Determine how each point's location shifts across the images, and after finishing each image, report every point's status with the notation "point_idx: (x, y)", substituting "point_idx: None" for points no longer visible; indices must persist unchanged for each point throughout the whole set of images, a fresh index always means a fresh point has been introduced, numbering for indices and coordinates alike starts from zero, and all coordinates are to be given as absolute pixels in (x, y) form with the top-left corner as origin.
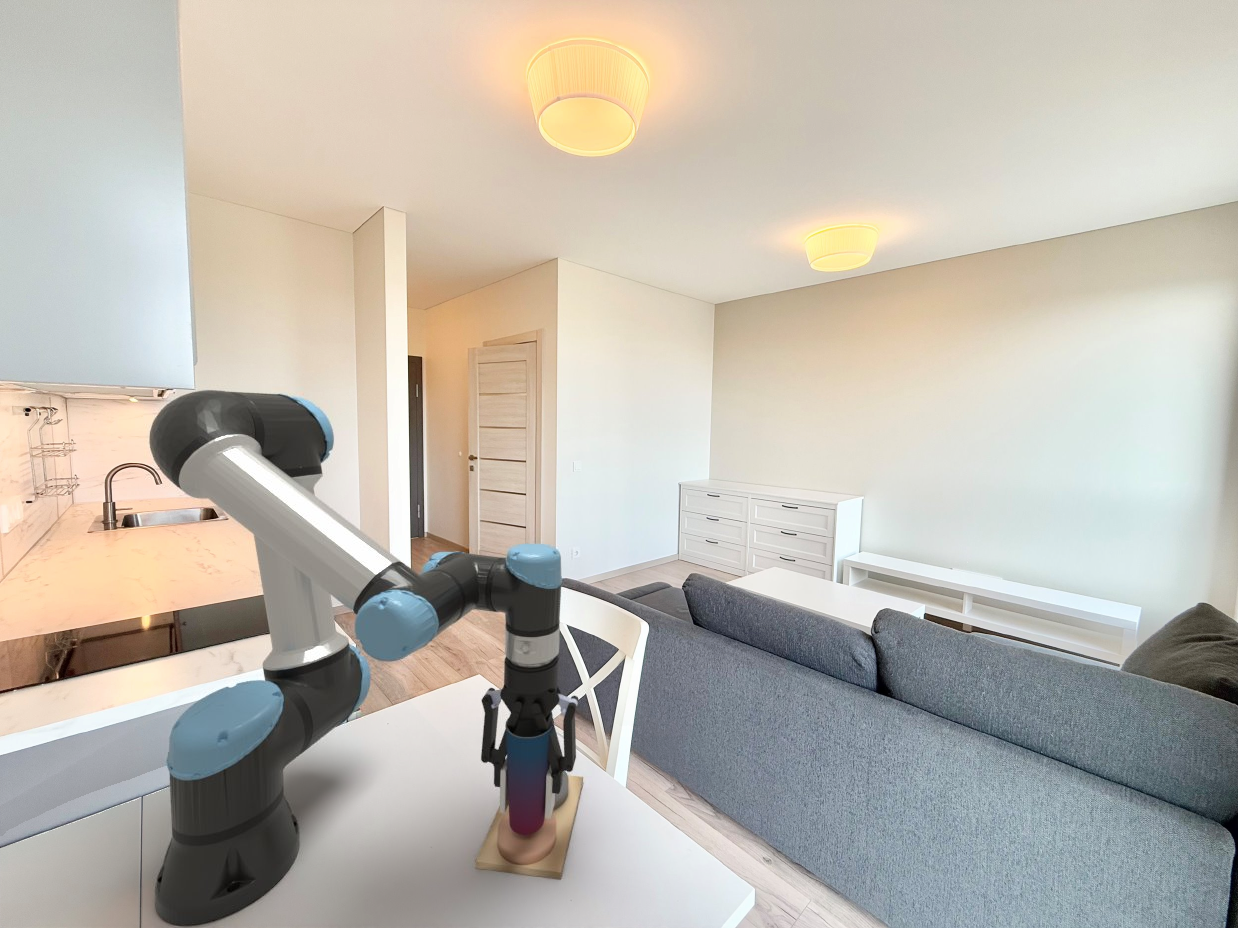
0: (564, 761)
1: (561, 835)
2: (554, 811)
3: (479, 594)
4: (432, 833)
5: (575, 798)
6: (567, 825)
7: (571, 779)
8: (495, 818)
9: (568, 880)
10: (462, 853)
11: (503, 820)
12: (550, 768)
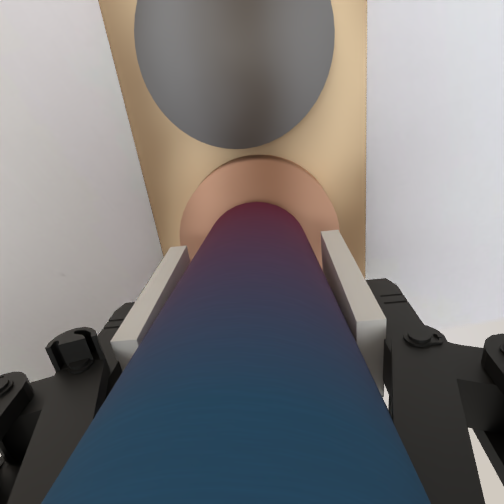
0: (493, 464)
1: (343, 197)
2: (301, 120)
3: None
4: (37, 246)
5: (357, 45)
6: (353, 162)
7: None
8: (151, 190)
9: (378, 277)
10: (134, 273)
11: (187, 241)
12: (365, 360)
